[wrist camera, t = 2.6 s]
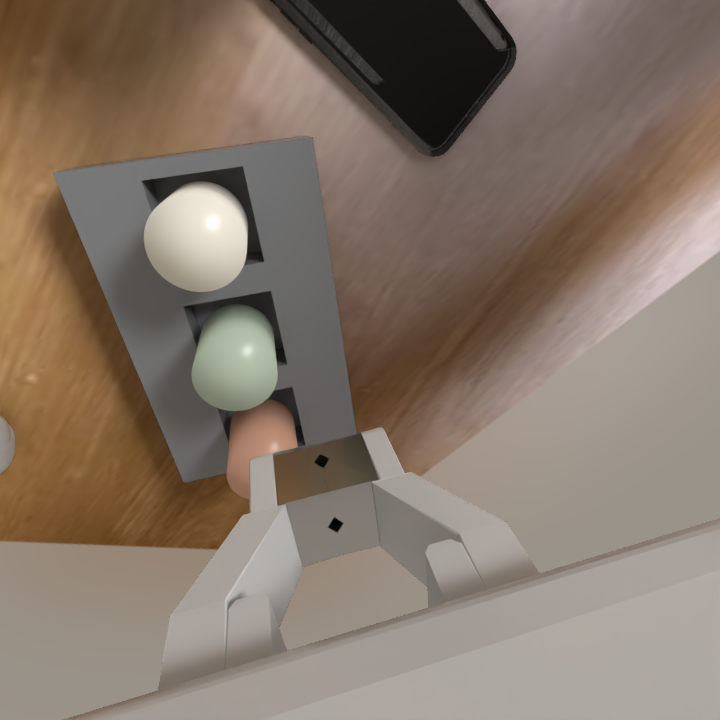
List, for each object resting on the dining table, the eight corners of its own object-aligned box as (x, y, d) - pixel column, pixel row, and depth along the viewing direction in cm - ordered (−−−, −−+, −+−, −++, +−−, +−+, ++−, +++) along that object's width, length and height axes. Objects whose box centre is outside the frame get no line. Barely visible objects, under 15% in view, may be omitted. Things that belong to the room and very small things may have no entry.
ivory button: (237, 175, 24) (233, 187, 19) (256, 256, 26) (256, 283, 21) (151, 187, 23) (128, 202, 19) (178, 269, 25) (162, 299, 21)
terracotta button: (287, 393, 30) (293, 437, 26) (299, 442, 32) (306, 491, 28) (223, 406, 30) (218, 454, 25) (239, 456, 32) (236, 508, 28)
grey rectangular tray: (305, 135, 26) (312, 137, 23) (349, 416, 37) (358, 443, 34) (77, 166, 25) (52, 172, 22) (189, 452, 35) (183, 482, 32)
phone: (325, -217, 20) (524, 53, 26) (322, -201, 21) (514, 56, 27) (227, -45, 21) (435, 166, 28) (228, -38, 22) (429, 164, 29)
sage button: (265, 298, 27) (268, 331, 23) (280, 360, 29) (284, 401, 25) (192, 311, 26) (180, 348, 22) (212, 374, 29) (205, 418, 24)
